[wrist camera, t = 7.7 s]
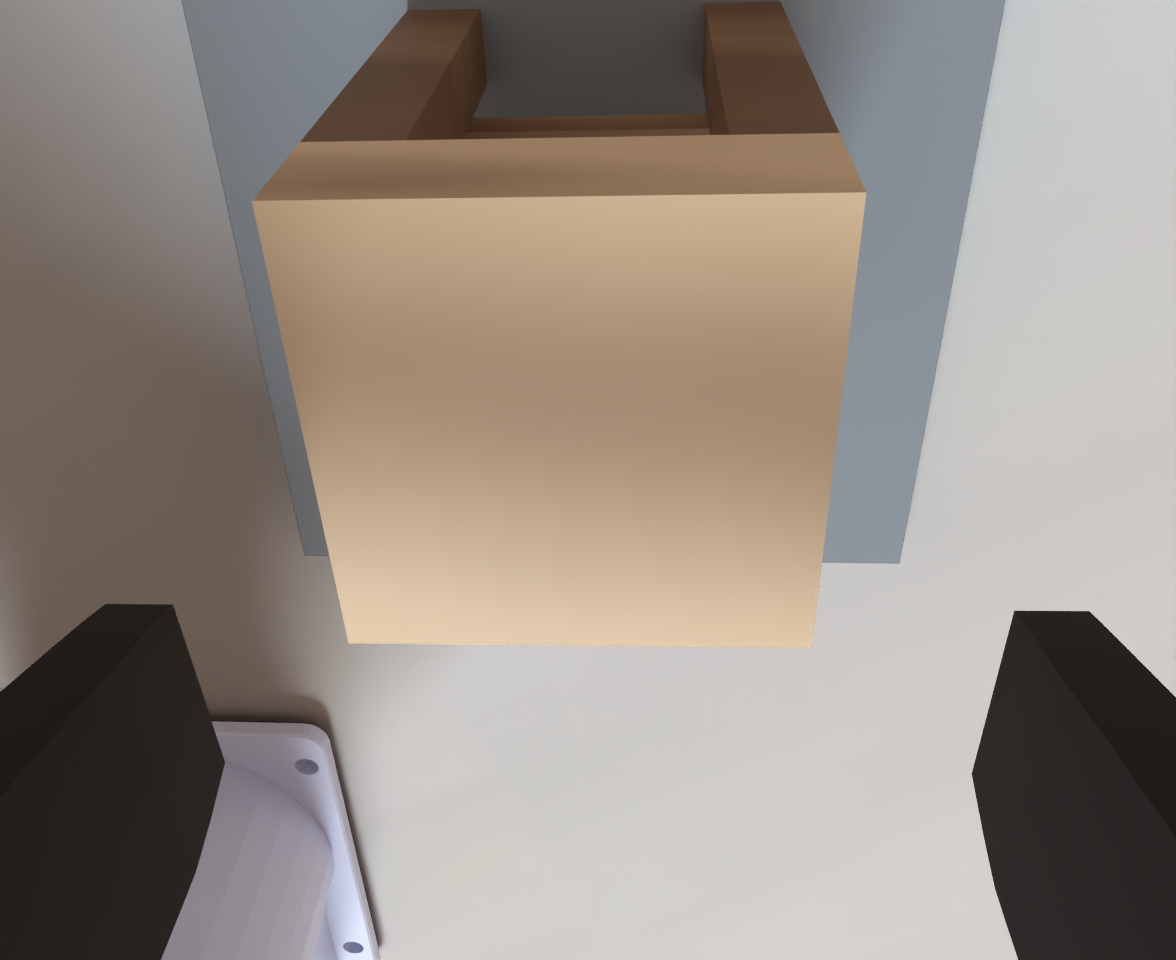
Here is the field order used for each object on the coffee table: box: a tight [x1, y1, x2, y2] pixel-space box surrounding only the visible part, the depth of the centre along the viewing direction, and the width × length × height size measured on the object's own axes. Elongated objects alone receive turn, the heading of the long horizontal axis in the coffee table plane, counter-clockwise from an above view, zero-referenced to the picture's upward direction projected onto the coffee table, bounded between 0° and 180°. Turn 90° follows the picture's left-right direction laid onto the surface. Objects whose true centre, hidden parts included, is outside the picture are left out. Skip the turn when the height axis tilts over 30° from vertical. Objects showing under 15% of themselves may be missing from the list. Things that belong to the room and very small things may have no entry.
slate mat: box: [182, 0, 1005, 564], centre depth 16 cm, size 14×11×1 cm
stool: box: [252, 2, 866, 648], centre depth 13 cm, size 5×5×7 cm
